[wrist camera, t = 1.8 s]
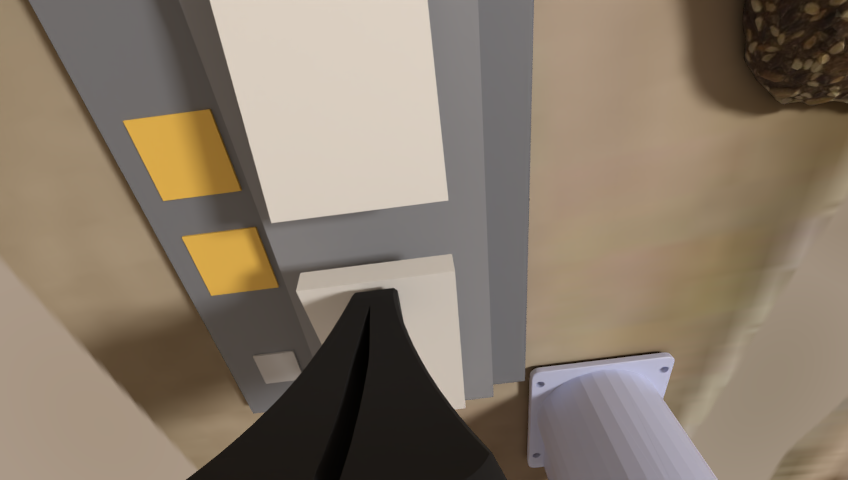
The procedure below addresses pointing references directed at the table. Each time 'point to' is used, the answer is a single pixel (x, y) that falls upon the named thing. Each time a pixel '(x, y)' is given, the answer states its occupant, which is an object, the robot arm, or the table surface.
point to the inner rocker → (420, 303)
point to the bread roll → (798, 48)
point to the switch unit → (322, 236)
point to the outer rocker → (336, 102)
